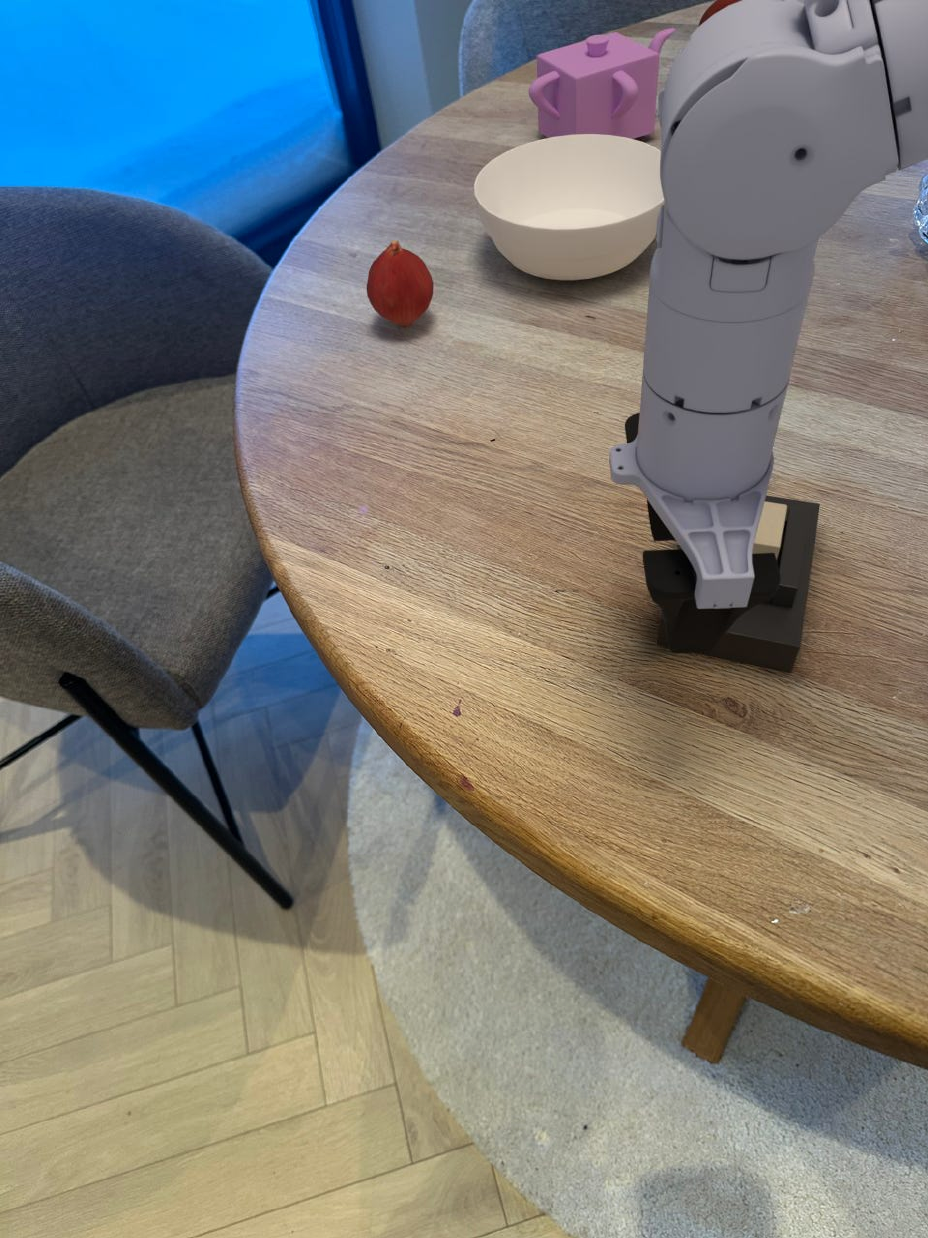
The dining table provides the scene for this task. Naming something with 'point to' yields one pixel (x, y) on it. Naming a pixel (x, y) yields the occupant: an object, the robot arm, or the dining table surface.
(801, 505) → the switch plate
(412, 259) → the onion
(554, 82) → the teapot
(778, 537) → the switch
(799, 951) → the dining table surface
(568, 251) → the bowl
